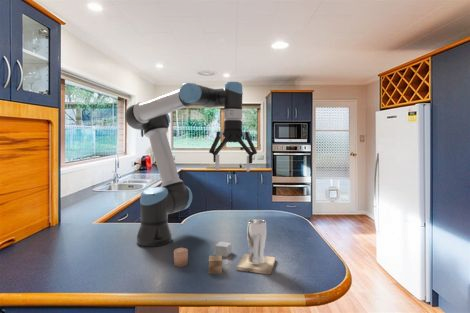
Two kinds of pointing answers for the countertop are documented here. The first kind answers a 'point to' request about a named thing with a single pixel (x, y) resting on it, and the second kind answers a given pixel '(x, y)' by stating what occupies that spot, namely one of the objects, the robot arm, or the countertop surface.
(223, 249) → the grey plastic box
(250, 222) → the silver metal cup
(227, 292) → the countertop surface
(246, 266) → the beech board
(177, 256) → the peach rounded capsule
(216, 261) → the oak cube
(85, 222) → the countertop surface
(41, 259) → the countertop surface
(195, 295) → the countertop surface
